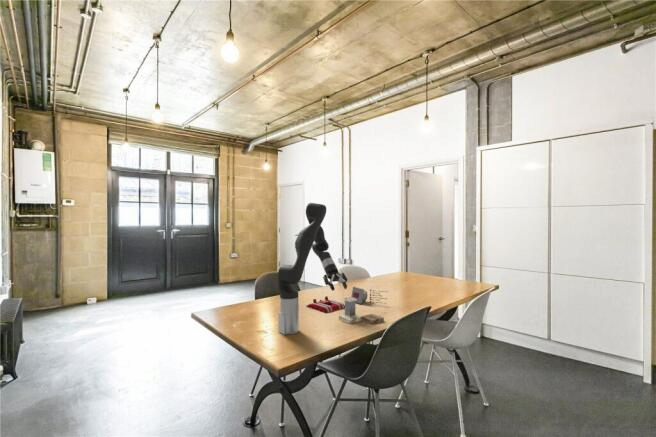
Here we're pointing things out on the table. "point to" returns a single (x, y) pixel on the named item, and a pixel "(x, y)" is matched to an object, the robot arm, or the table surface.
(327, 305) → the fire alarm
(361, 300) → the voltmeter
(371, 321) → the stand
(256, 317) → the table surface
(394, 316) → the table surface
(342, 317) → the stand
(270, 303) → the table surface
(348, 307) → the block
